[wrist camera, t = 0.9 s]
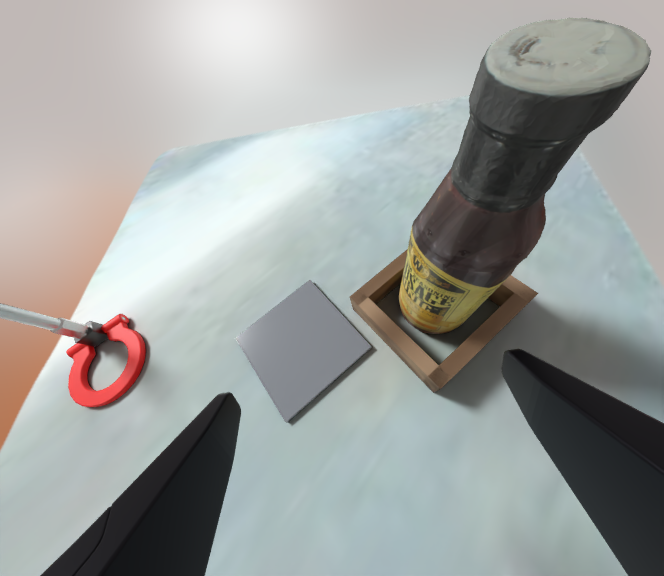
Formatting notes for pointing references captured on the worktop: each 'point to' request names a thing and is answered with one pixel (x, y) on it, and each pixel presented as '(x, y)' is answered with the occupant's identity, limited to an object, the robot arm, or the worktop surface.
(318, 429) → the worktop surface
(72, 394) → the tow hook
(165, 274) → the worktop surface
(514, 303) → the holder frame
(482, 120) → the sauce bottle
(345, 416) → the worktop surface
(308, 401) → the slate tile
